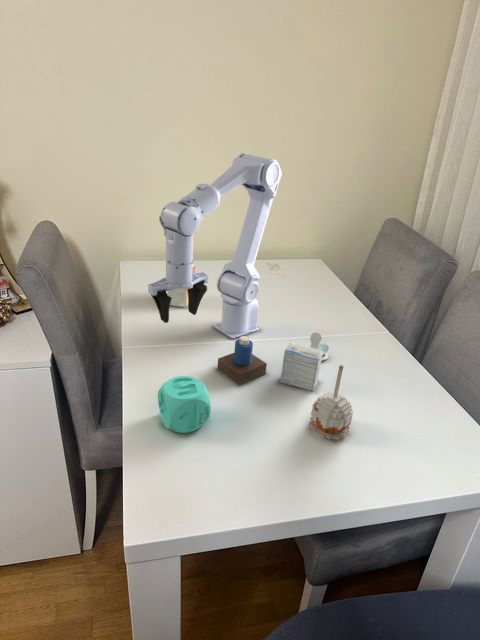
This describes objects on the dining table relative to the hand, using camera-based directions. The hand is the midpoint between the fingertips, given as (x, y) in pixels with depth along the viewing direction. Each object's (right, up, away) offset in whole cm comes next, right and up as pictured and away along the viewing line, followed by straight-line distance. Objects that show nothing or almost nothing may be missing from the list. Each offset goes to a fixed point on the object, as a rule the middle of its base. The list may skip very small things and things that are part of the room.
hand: (178, 316), depth 112 cm
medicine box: (+28, -15, 0) cm, 32 cm away
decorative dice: (+4, -22, -15) cm, 27 cm away
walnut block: (+14, -13, +2) cm, 19 cm away
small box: (-5, +6, +32) cm, 33 cm away
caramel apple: (+33, -24, -13) cm, 42 cm away
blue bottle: (+15, -10, 0) cm, 18 cm away
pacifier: (+32, -9, +11) cm, 35 cm away
